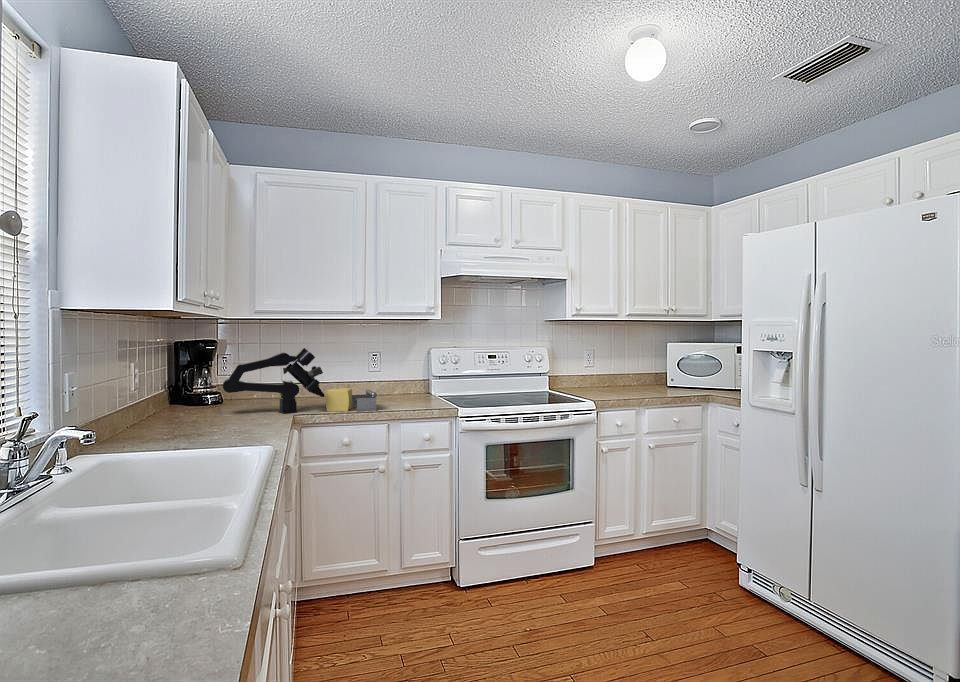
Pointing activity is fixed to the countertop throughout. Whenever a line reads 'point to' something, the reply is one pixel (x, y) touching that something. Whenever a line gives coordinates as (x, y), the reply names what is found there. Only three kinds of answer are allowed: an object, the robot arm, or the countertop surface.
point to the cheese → (339, 399)
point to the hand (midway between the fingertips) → (324, 396)
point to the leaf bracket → (365, 401)
